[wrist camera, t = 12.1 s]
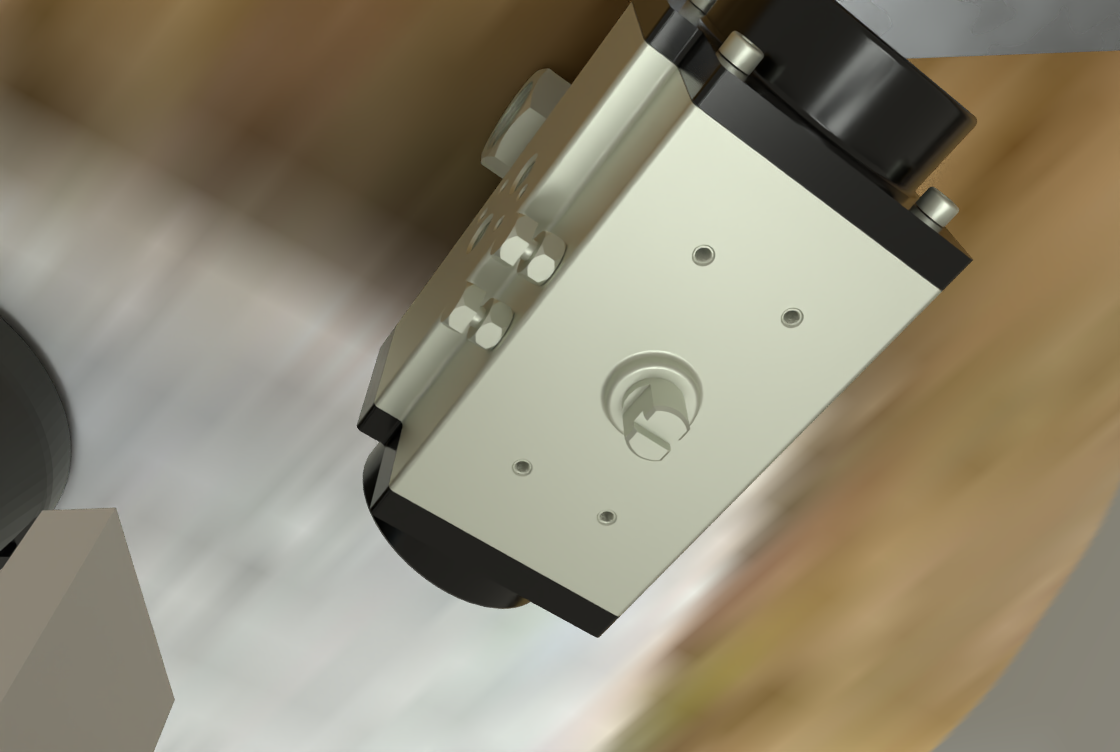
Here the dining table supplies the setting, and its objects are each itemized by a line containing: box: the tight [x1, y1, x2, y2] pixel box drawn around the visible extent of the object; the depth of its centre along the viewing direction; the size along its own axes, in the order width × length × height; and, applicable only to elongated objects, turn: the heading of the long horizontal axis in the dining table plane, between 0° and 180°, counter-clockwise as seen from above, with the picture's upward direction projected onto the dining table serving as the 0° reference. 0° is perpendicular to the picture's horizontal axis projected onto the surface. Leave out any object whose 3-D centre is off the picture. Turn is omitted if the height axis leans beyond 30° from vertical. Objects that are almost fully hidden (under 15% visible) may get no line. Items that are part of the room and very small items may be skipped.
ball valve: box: [357, 0, 977, 638], centre depth 31 cm, size 18×8×18 cm, turn 144°
